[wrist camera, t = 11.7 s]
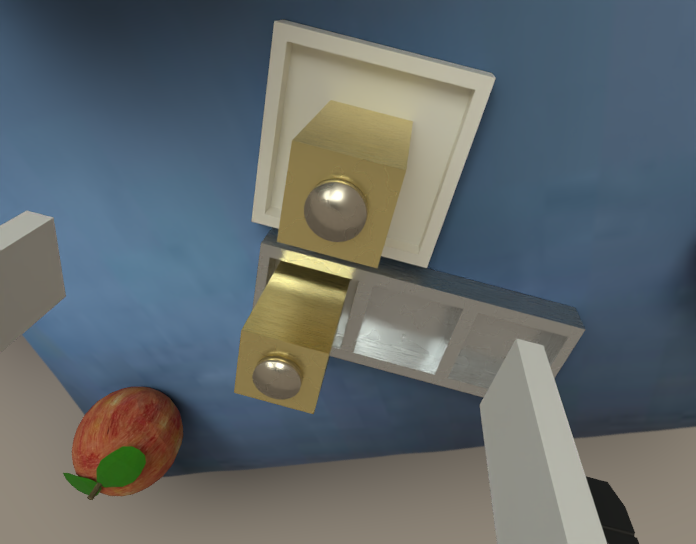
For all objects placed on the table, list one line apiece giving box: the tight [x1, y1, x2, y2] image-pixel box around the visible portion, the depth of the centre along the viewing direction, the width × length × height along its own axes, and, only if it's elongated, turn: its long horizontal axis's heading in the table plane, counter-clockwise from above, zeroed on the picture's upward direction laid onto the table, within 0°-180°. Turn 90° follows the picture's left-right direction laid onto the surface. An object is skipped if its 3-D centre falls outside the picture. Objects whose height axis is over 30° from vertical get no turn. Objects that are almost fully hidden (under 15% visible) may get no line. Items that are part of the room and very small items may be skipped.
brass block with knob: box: [234, 260, 350, 414], centre depth 30 cm, size 5×5×10 cm
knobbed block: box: [277, 100, 413, 268], centre depth 24 cm, size 5×5×10 cm
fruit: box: [63, 387, 183, 500], centre depth 40 cm, size 9×10×10 cm
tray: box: [252, 19, 496, 268], centre depth 28 cm, size 12×12×2 cm
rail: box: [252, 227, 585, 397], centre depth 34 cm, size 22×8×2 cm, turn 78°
